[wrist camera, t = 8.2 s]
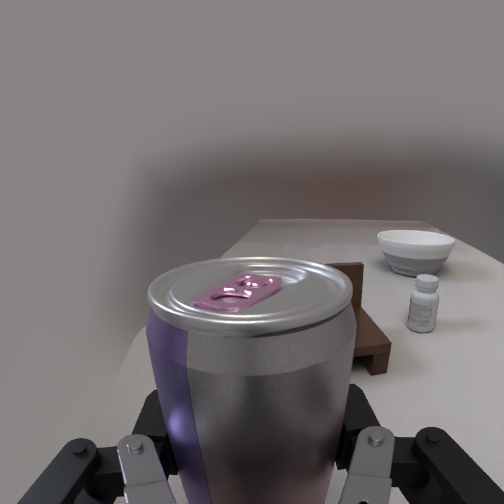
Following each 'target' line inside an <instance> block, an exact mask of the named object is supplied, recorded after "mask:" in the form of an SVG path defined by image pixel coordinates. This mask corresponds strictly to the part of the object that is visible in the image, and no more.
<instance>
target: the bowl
mask: <svg viewBox="0 0 504 504" xmlns="http://www.w3.org/2000/svg"><path fill="white" fill-rule="evenodd" d="M377 237H378V240H379V244H380V247H381V250H382V251H383V254H384V256H385V257H386V258H387V261H388V263H389V264H390V265H391V266H392V269H393V270H394V271H395V272H397V273H399V274H402V275H406V276H412V277H417V276H418V275H423V274H427V275H434V274H435V273H436V271H437V270H438V269H440V268H441V267H442V264H443V263H444V262H445V261H446V259H447V258H448V256H449V255H450V253H451V251H452V248H453V246H454V244H455V239H454V238H452V237H450V236H447V235H443V234H439V233H433V232H426V231H415V230H391V231H383V232H380V233H378V234H377Z"/></svg>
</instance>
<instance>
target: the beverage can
mask: <svg viewBox="0 0 504 504" xmlns="http://www.w3.org/2000/svg"><path fill="white" fill-rule="evenodd" d="M352 295H353V286H352V283H351V281H350V279H349V278H348V276H347V275H345V274H344V273H343V272H341V271H339V270H338V269H336V268H333V267H331V266H328V265H325V264H322V263H318V262H314V261H309V260H304V259H297V258H288V257H274V256H244V257H229V258H220V259H213V260H206V261H201V262H196V263H192V264H188V265H184V266H181V267H178V268H175V269H172V270H170V271H168V272H166V273H164V274H162V275H160V276H159V277H158V278H156V279H155V280H154V281H153V282H152V283H151V285H150V287H149V289H148V301H149V304H150V312H149V316H148V321H147V326H146V335H147V341H148V346H149V352H150V357H151V363H152V368H153V373H154V377H155V382H156V387H157V391H158V396H159V400H160V405H161V409H162V413H163V417H164V421H165V425H166V429H167V433H168V437H169V441H170V444H171V448H172V451H173V455H174V458H175V462H176V465H177V469H178V472H179V475H180V478H181V482H182V485H183V488H184V491H185V494H186V497H187V500H188V503H189V504H324V503H325V499H326V496H327V492H328V488H329V484H330V480H331V476H332V471H333V467H334V463H335V458H336V454H337V449H338V444H339V440H340V435H341V429H342V424H343V419H344V413H345V408H346V402H347V396H348V389H349V383H350V376H351V369H352V362H353V354H354V346H355V338H356V329H357V323H356V318H355V314H354V311H353V307H352V303H351V298H352Z"/></svg>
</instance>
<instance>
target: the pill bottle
mask: <svg viewBox="0 0 504 504" xmlns="http://www.w3.org/2000/svg"><path fill="white" fill-rule="evenodd" d="M438 281H439V279H438V277H436V276H433V275H427V274H423V275H418V276H417V277H416V285H415V286H416V289H415V290H413V291H412V293H411V299H410V308H409V315H408V323H407V325H408V327H409V328H410V329H411V330H413V331H416V332H422V333H426V332H430V331H432V330H433V329H434V326H435V321H436V315H437V309H438V303H439V294H438V292H437V291H436V290H437V287H438Z"/></svg>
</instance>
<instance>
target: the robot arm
mask: <svg viewBox="0 0 504 504" xmlns="http://www.w3.org/2000/svg"><path fill="white" fill-rule="evenodd" d="M335 462H336V466H337V469H338V470H341V469H346V470H347V473H348V475H347V478H346V482H345V485H344V488H343V491H342V494H341V497H340V500H339V503H338V504H388V502H389V496H390V490H391V487H398V488H399V489H400V491H401V492H402V494H403V495H404V496H405V498H406V499H407V501H408V502H409V504H504V492H503V491H502V490H501V489H500V488H499V487H498V485H497V484H496V483H495V482H494V481H493V480H492V479H491V478H490V477H489V476H488V475H487V474H486V473H485V472H484V471H483V470H482V469H481V468H480V467H479V466H478V465H477V464H476V463H475V462H474V461H473V459H472V458H471V457H470V456H469V455H468V454H467V453H466V452H465V451H464V450H463V449H462V448H461V447H460V446H459V445H458V444H457V443H456V442H455V441H454V440H453V439H452V438H451V437H450V436H449V435H448V434H447V433H446V432H445V431H444V430H442V429H440V428H436V427H427V428H423V429H421V430H420V431H419V432H418V433H417V435H416V437H395V436H394V435H393V433H392V432H391V431H390V430H388V429H386V428H384V427H381V426H380V424H379V422H378V420H377V418H376V416H375V414H374V412H373V410H372V408H371V406H370V405H369V402H368V400H367V399H366V397H365V395H364V393H363V391H362V389H360V388H359V387H358V386H356V385H355V384H349V389H348V396H347V402H346V408H345V413H344V419H343V424H342V429H341V435H340V440H339V444H338V449H337V454H336V458H335ZM169 475H178V469H177V465H176V462H175V458H174V455H173V451H172V448H171V444H170V441H169V437H168V433H167V429H166V425H165V421H164V417H163V413H162V409H161V405H160V400H159V396H158V391H157V390H154V391H153V392H152V393H151V394H149V395H148V396H147V398H146V400H145V403H144V406H143V408H142V410H141V413H140V415H139V417H138V420H137V422H136V425H135V427H134V429H133V432H132V434H131V435H129V436H126V437H124V438H123V439H121V440H120V442H119V443H118V445H117V446H115V447H106V448H97V447H96V445H95V444H94V443H93V442H92V441H91V440H88V439H83V438H79V439H74V440H71V441H70V442H68V443H67V444H66V445H65V446H64V447H63V448H62V450H61V451H60V452H59V453H58V454H57V456H56V457H55V458H54V459H53V461H52V462H51V463H50V464H49V465H48V467H47V468H46V469H45V470H44V471H43V473H42V474H41V475H40V476H39V477H38V479H37V480H36V481H35V483H34V484H33V485H32V486H31V487H30V488H29V490H28V491H27V492H26V494H25V495H24V496H23V497H22V498H21V500H20V501H19V502H18V503H17V504H113V503H114V501H115V500H116V498H117V497H121V496H125V498H126V502H127V504H177V503H176V501H175V498H174V496H173V494H172V491H171V489H170V486H169V484H168V477H169Z"/></svg>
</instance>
